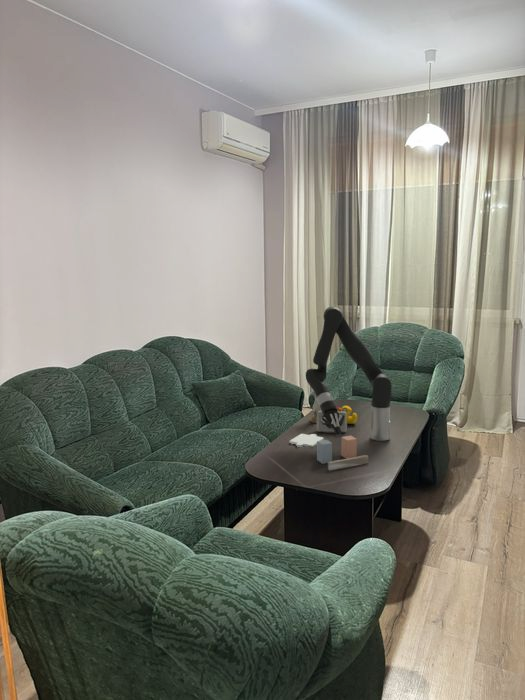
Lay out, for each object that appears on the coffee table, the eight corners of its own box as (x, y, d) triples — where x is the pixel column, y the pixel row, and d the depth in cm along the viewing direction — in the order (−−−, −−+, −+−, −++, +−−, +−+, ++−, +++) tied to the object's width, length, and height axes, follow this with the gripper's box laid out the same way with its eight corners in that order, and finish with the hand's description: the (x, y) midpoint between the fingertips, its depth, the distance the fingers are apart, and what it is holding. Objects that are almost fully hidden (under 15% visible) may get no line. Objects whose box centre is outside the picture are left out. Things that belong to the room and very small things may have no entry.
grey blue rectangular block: (316, 460, 246) (316, 441, 244) (326, 458, 248) (326, 439, 246) (322, 463, 241) (322, 444, 240) (332, 462, 243) (332, 443, 242)
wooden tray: (313, 461, 246) (313, 452, 246) (351, 454, 254) (351, 446, 253) (329, 472, 234) (329, 463, 233) (368, 464, 242) (368, 456, 241)
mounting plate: (303, 435, 283) (303, 432, 282) (326, 439, 276) (326, 436, 276) (286, 446, 268) (286, 442, 267) (310, 450, 261) (310, 446, 261)
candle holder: (324, 423, 301) (324, 388, 297) (308, 423, 302) (308, 387, 299) (325, 419, 309) (326, 384, 306) (310, 418, 311) (310, 384, 307)
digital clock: (315, 432, 287) (315, 413, 285) (318, 427, 295) (319, 408, 293) (345, 435, 282) (345, 415, 280) (348, 429, 290) (348, 410, 288)
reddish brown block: (341, 455, 251) (341, 437, 249) (350, 453, 253) (350, 435, 251) (347, 459, 246) (347, 440, 245) (356, 457, 248) (356, 438, 247)
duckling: (335, 423, 301) (335, 406, 300) (339, 420, 306) (339, 403, 304) (355, 426, 296) (355, 408, 294) (358, 423, 301) (358, 406, 299)
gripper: (317, 401, 259) (330, 433, 250) (341, 398, 264) (354, 429, 255) (312, 409, 265) (324, 440, 256) (335, 406, 270) (347, 436, 261)
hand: (339, 435), depth 255 cm, fingers closed
